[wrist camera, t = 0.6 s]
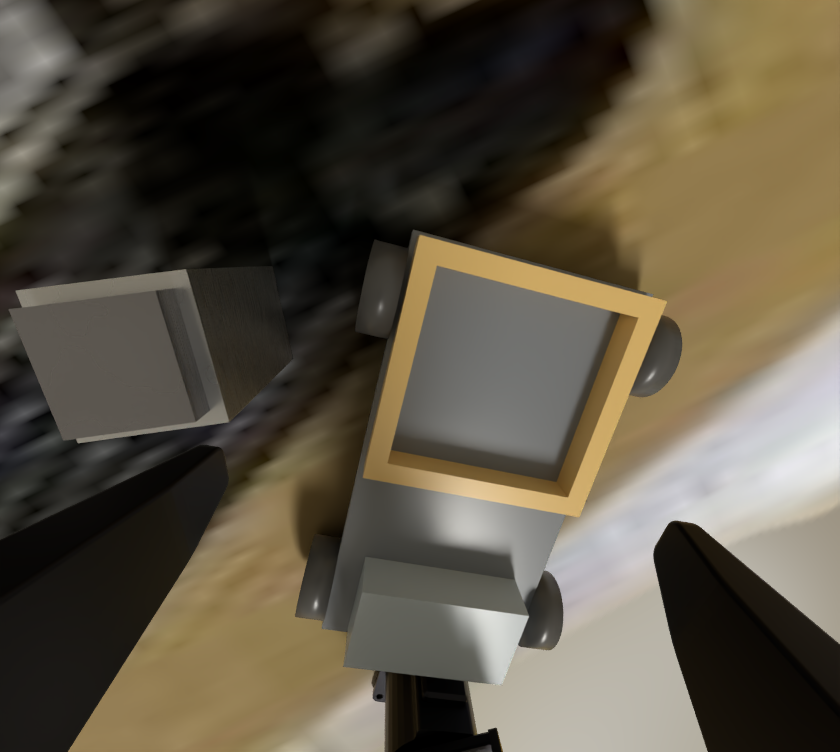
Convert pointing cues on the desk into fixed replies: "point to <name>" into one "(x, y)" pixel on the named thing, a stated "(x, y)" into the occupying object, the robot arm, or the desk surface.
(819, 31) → the desk surface
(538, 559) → the truck
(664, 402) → the desk surface
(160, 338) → the grey block
